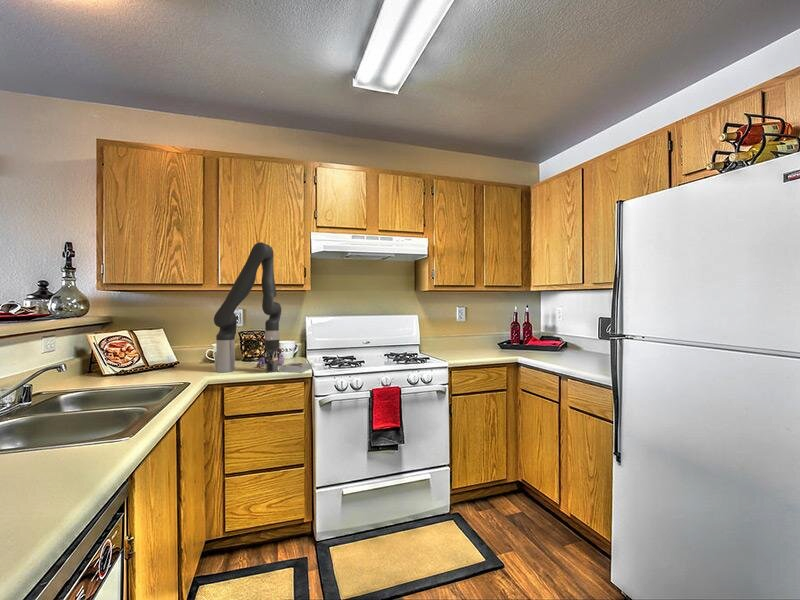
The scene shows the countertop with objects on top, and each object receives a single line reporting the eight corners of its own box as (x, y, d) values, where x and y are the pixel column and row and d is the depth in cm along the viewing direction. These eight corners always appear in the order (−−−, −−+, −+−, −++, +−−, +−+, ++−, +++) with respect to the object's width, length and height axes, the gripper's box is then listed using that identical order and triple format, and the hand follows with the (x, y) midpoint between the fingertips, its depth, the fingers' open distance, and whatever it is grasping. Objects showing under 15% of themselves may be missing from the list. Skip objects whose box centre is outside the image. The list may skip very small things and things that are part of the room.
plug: (266, 372, 207) (266, 358, 207) (270, 370, 212) (270, 357, 212) (273, 372, 206) (273, 359, 206) (277, 371, 211) (277, 357, 211)
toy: (283, 376, 226) (292, 352, 232) (265, 367, 215) (276, 342, 221) (271, 374, 231) (280, 351, 237) (253, 366, 220) (263, 341, 226)
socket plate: (279, 372, 208) (279, 366, 208) (290, 367, 220) (290, 362, 220) (301, 372, 205) (301, 366, 205) (311, 368, 218) (311, 363, 218)
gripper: (272, 337, 217) (272, 367, 217) (258, 339, 203) (258, 372, 203) (284, 337, 215) (284, 368, 215) (271, 340, 201) (271, 372, 201)
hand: (272, 370), depth 209 cm, fingers closed on plug, 4 cm apart
